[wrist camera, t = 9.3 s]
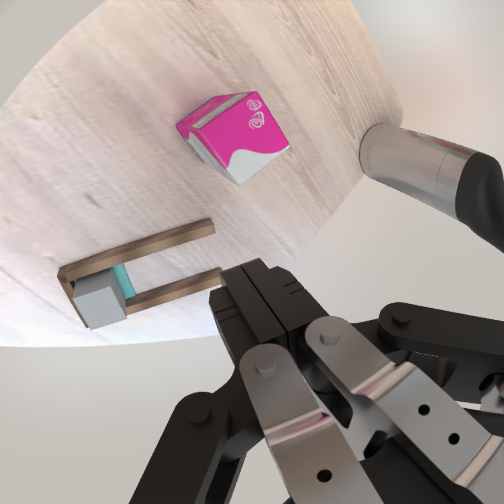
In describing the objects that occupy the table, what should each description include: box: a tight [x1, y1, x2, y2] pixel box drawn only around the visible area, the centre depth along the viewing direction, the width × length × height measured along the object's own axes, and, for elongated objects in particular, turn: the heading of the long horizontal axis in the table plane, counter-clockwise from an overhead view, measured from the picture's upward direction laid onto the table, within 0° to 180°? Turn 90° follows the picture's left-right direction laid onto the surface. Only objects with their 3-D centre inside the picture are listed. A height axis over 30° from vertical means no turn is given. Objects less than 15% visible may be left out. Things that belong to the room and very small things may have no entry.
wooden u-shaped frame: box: [57, 218, 222, 328], centre depth 35 cm, size 20×9×2 cm, turn 97°
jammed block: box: [72, 267, 127, 330], centre depth 32 cm, size 5×5×4 cm
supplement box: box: [176, 91, 290, 186], centre depth 26 cm, size 6×6×12 cm
